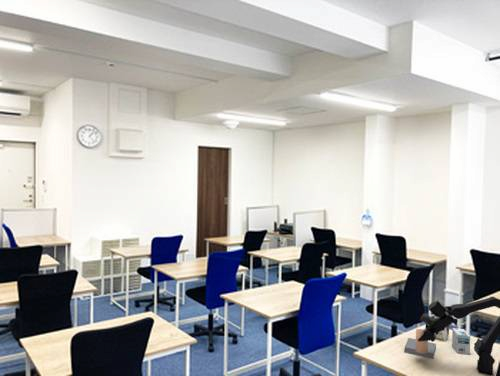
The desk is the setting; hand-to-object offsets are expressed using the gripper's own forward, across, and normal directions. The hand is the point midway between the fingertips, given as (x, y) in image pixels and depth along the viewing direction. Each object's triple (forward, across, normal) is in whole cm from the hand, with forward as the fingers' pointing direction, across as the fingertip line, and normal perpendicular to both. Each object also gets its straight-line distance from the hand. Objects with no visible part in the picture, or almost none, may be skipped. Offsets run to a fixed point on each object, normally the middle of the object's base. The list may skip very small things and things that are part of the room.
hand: (419, 338), depth 210 cm
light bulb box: (-5, -27, +22) cm, 35 cm away
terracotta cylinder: (+4, 0, +6) cm, 7 cm away
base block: (+9, -13, +8) cm, 18 cm away
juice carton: (+3, -39, +14) cm, 42 cm away
